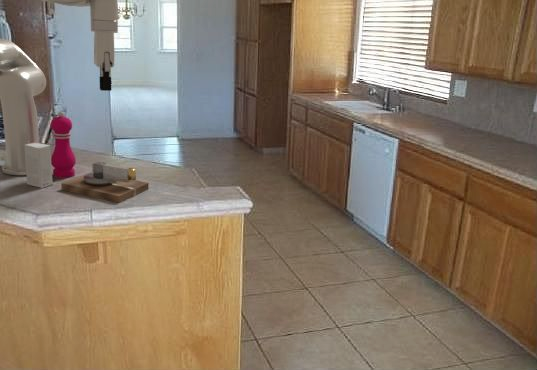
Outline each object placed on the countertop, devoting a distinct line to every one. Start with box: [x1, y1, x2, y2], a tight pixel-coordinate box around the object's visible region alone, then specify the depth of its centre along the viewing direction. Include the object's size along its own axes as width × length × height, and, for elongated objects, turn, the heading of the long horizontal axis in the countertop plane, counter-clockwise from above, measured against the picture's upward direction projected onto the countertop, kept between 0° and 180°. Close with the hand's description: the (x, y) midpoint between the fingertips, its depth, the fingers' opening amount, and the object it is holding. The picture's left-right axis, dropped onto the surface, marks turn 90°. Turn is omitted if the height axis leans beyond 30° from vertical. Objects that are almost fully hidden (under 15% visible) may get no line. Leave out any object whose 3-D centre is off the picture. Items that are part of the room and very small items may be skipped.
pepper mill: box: [50, 111, 77, 179], centre depth 159 cm, size 7×7×20 cm
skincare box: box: [24, 142, 53, 189], centre depth 150 cm, size 6×4×12 cm
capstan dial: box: [84, 161, 137, 186], centre depth 151 cm, size 16×9×5 cm, turn 73°
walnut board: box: [61, 171, 150, 204], centre depth 152 cm, size 20×14×2 cm
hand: (105, 90), depth 157 cm, fingers closed
